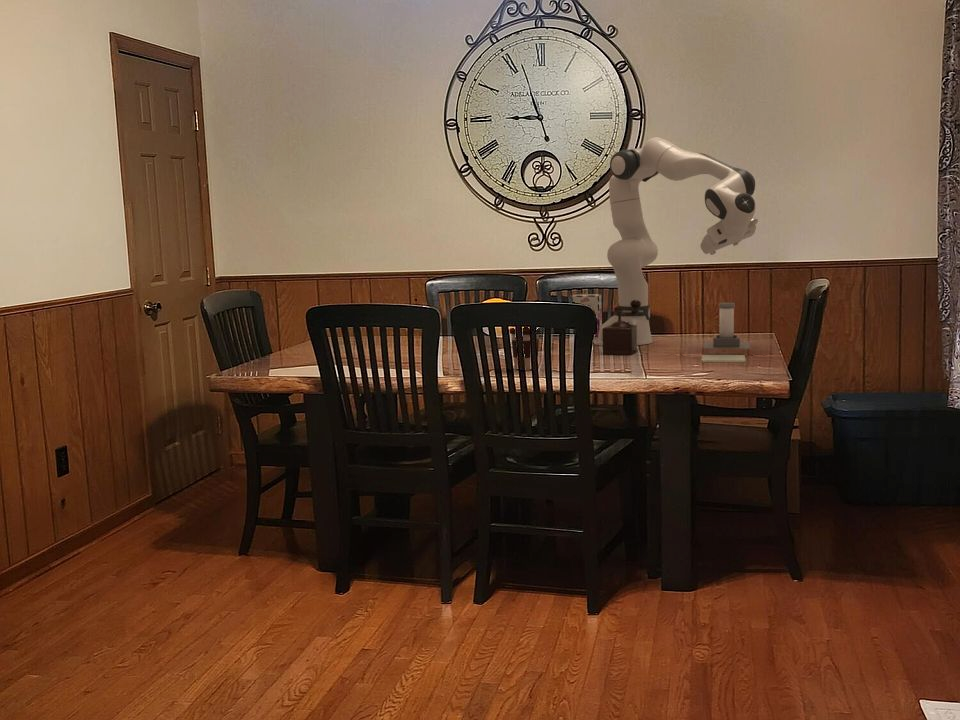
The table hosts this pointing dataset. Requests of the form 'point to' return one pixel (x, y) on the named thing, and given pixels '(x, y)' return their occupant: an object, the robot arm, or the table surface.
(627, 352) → the pepper mill
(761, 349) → the table surface
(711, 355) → the pad
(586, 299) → the candy bar box
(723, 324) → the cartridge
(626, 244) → the robot arm
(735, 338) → the housing
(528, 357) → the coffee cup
